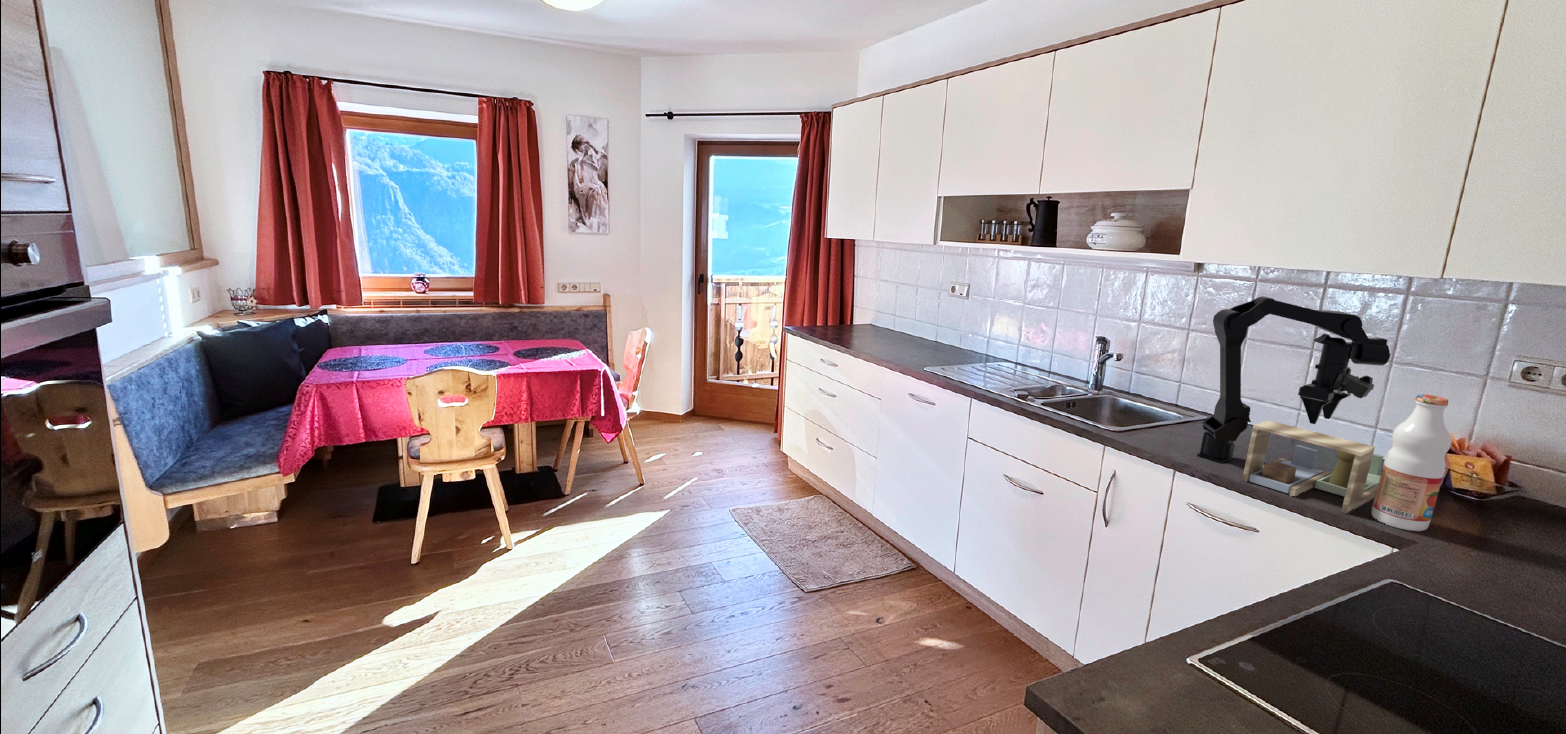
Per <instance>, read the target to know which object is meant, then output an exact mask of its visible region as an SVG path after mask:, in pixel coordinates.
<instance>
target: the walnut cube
mask: <svg viewBox="0 0 1566 734" xmlns="http://www.w3.org/2000/svg"><path fill="white" fill-rule="evenodd" d="M1263 465H1264V467H1263V472H1262V477H1265V478H1269V479H1272V480H1275V481H1278V482H1282V483H1285V484H1288V485H1289V484H1292V483H1293V482H1294V478H1295V473H1296V469H1297V467H1294V466H1290V465H1287V464H1283V463H1280V462H1276V461H1275V460H1271V461H1268V462H1265V463H1264V464H1263Z"/></svg>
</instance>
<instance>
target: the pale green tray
mask: <svg viewBox="0 0 1566 734" xmlns="http://www.w3.org/2000/svg"><path fill="white" fill-rule="evenodd" d="M1383 460H1384V456H1383V455H1381V454H1377V453H1373V457H1372V461H1371V465H1370V469H1369V472H1368V476H1367V480H1366V484H1365V488H1364V492H1366V491H1368V490H1369V489H1371V488H1373V487H1375V486H1377V485H1378V484H1379V480H1380V476H1381V474H1380V472H1381V467H1382V464H1383ZM1331 475H1332V474H1330V475H1327V476H1325V477H1323V478H1321V479H1319V480H1317V481H1316V485H1315V487H1314V488H1315V489H1318V490H1321V491H1325V492H1328V493H1331V494H1335V495H1338V496H1342V497H1344V498H1345V494H1346V490H1347V488H1344V487H1341V486H1337V485H1334V484H1331V483H1328V482H1329V480H1330V478H1331ZM1364 492H1363V493H1364Z"/></svg>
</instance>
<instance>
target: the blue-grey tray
mask: <svg viewBox="0 0 1566 734" xmlns="http://www.w3.org/2000/svg"><path fill="white" fill-rule="evenodd" d="M1318 453H1319V449H1314V448H1312V447H1308V446H1304V445H1300V444H1297V445H1296V444H1295V447H1294V451H1293V455H1292V459H1291V461H1290V460H1287V459H1286V460H1285V461H1282V462H1280V463H1283V464H1287V465H1290V466H1294V467H1297V469H1296V473H1295V478H1294V482H1293V483H1292V484H1289V485H1288V484H1285V483H1282V482H1278V481H1275V480H1272V479H1269V478H1265V477H1262V472H1263V469H1262V470H1260V471H1257V472H1255V473H1252V474H1251V475H1250V479H1249V481H1248V482H1250V483H1254V484H1256V485H1260V486H1263V487H1266V488H1270V489H1273V490H1276V491H1279V492H1282V493H1284V494H1289V493H1290V489H1291V487H1293V486H1295V485H1298V484H1300V483H1302V482H1304V481H1306V480H1308V479H1311V478H1313V477H1315V476H1317V475H1319V474H1321V473H1324V470H1321V469H1318V468H1315V466H1316V463H1317V459H1318Z"/></svg>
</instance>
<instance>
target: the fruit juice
mask: <svg viewBox="0 0 1566 734" xmlns="http://www.w3.org/2000/svg"><path fill="white" fill-rule="evenodd" d="M1415 403H1416V404H1415V407H1414V409H1413V411H1412V412H1411V414H1410V415H1409V416H1408V417H1407V418H1406V419H1405V420H1404V421H1402V422H1401V423H1399V424H1397V425H1396V427H1395V428H1394V429H1393V431H1392V434H1391V435H1392V436H1391V438H1392V447H1391V448H1390V449H1389V450H1388V451H1387V453H1386V456H1385V458H1384V459H1383V460H1384V461H1383V463H1382V464H1383V465H1382V469H1381V471H1380V472H1381V473H1380V475H1381V476H1380V480H1379V484H1378V488H1377V491H1376V495H1375V498H1374V499H1373V503H1372V507H1371V516H1372V518H1374V519H1375V520H1376V519H1377V520H1376V521H1378V522H1380V523H1382V522H1383V523H1382V524H1384V523H1385V524H1384V525H1387V526H1390V527H1393V528H1395V529H1396V528H1397V529H1399V530H1400V529H1401V530H1403V531H1404V530H1406V531H1413V532H1423V531H1424V532H1425V531H1426V530H1427V529H1428V528H1429V526H1430V525H1431V520H1432V516H1433V513H1434V509H1435V506H1436V504H1437V503H1436V502H1437V499H1438V496H1439V492H1440V488H1441V485H1442V481H1443V478H1444V475H1445V472H1446V471H1445V470H1446V460H1445V455H1446V454H1447V453H1448V451H1449V450H1450V448H1451V446H1452V442H1453V441H1452V435H1451V433H1450V431H1448V429H1447V428H1446V425H1445V420H1444V418H1445V417H1444V411H1445V409H1446V408H1447V407H1448V405H1449V399H1447V398H1445V397H1442V396H1437V395H1431V394H1425V393H1424V394H1421V393H1420V394H1417V395H1416V397H1415Z"/></svg>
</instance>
